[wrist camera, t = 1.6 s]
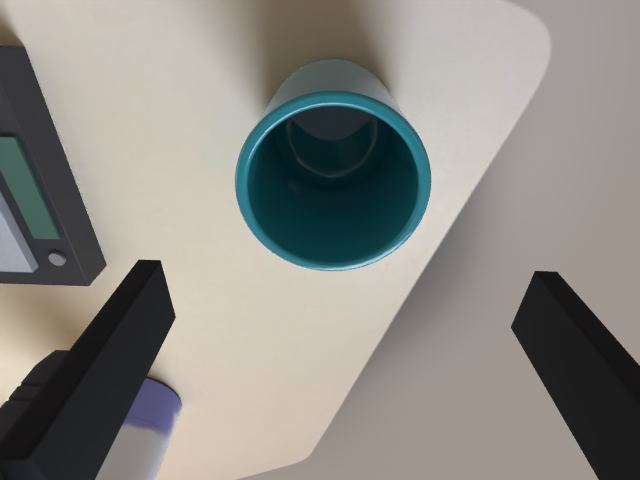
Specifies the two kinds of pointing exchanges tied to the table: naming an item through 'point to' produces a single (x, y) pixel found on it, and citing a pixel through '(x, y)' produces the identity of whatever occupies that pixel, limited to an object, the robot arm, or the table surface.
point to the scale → (38, 190)
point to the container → (143, 435)
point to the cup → (332, 170)
